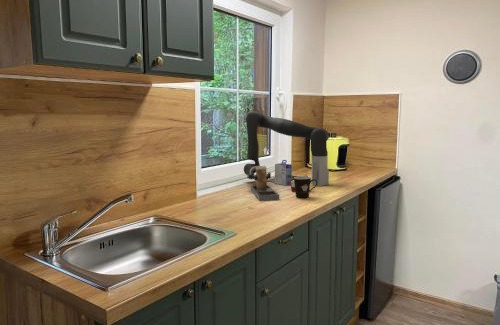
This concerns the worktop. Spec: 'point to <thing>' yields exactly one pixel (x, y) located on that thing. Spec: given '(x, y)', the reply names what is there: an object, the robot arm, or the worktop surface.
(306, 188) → the coffee mug
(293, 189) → the canned food
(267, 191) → the holder tray
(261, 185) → the walnut peg
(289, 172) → the ink cartridge box
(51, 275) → the worktop surface
